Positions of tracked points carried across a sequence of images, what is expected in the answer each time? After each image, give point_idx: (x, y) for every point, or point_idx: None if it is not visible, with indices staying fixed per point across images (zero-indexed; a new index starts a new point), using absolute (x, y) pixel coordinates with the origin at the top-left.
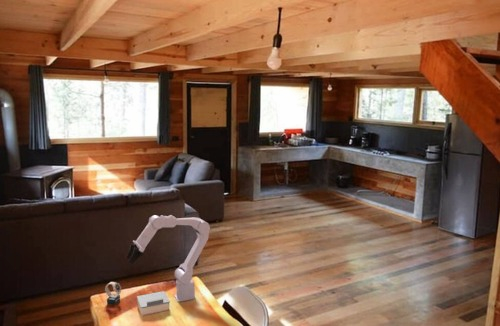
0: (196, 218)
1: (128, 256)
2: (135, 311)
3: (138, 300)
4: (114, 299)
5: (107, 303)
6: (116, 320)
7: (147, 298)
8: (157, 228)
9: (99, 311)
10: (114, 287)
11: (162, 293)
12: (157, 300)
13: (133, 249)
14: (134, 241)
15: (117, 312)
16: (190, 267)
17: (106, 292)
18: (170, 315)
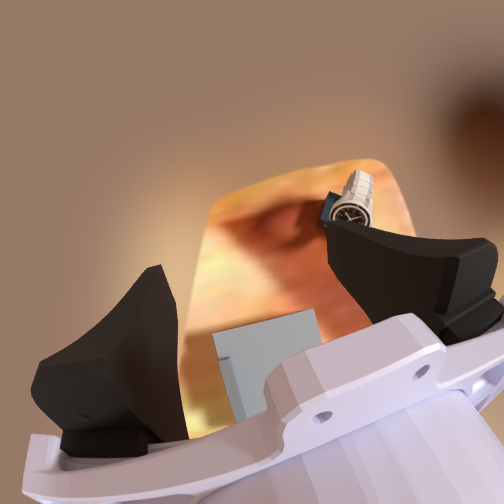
0: None
1: (336, 243)
2: (258, 306)
3: (274, 319)
4: (322, 219)
5: (325, 198)
6: (207, 246)
7: (285, 355)
8: None
9: (279, 181)
10: (337, 204)
11: None
12: (229, 401)
13: (397, 301)
14: (281, 417)
15: (262, 241)
16: None
17: (347, 181)
18: (208, 425)
